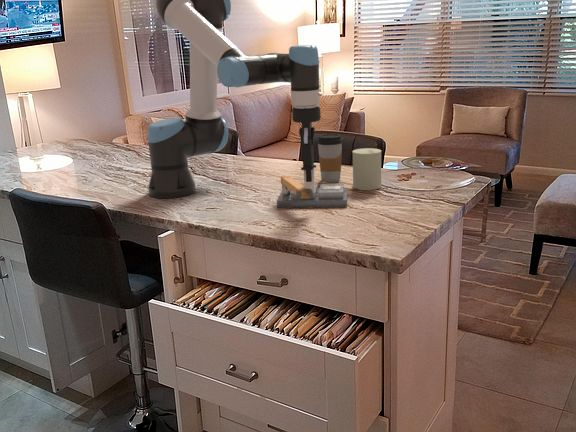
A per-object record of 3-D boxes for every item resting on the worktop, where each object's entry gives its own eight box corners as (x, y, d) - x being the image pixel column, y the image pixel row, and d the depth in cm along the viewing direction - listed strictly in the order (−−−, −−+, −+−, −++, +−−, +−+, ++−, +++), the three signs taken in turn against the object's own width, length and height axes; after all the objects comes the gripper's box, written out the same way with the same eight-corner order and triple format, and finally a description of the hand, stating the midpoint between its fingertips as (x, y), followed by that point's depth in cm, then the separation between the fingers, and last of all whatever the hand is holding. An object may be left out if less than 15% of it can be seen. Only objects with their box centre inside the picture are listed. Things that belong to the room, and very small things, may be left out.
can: (363, 191, 183) (363, 153, 179) (347, 185, 191) (346, 149, 187) (387, 187, 187) (387, 149, 183) (370, 181, 195) (370, 145, 191)
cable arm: (278, 182, 176) (277, 176, 175) (290, 181, 177) (290, 174, 176) (298, 199, 158) (298, 191, 157) (312, 197, 159) (312, 190, 158)
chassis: (277, 207, 170) (276, 190, 169) (283, 194, 184) (282, 178, 182) (346, 206, 168) (346, 189, 166) (347, 194, 181) (347, 177, 180)
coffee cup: (341, 183, 194) (340, 138, 190) (316, 183, 196) (315, 138, 191) (344, 177, 202) (343, 133, 198) (320, 177, 204) (319, 134, 199)
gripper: (319, 109, 149) (322, 198, 157) (321, 102, 162) (324, 185, 169) (289, 110, 150) (294, 199, 158) (294, 103, 162) (298, 186, 170)
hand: (309, 191), depth 163 cm, fingers closed
